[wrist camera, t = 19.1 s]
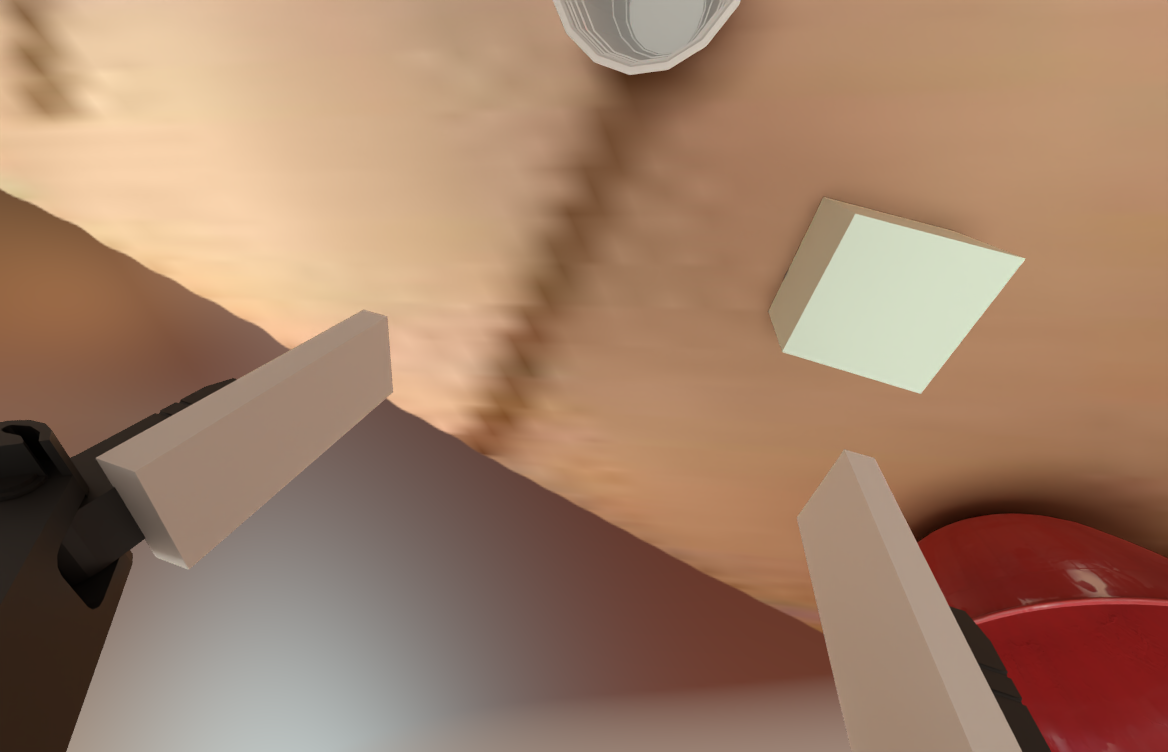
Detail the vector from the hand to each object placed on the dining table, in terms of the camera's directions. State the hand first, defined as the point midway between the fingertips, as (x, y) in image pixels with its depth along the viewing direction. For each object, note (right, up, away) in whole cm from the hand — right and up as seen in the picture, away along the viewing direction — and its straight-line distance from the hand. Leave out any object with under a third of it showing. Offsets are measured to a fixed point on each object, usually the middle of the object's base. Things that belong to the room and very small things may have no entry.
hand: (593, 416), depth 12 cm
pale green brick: (+23, +10, +24) cm, 35 cm away
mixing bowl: (+44, -19, +34) cm, 59 cm away
